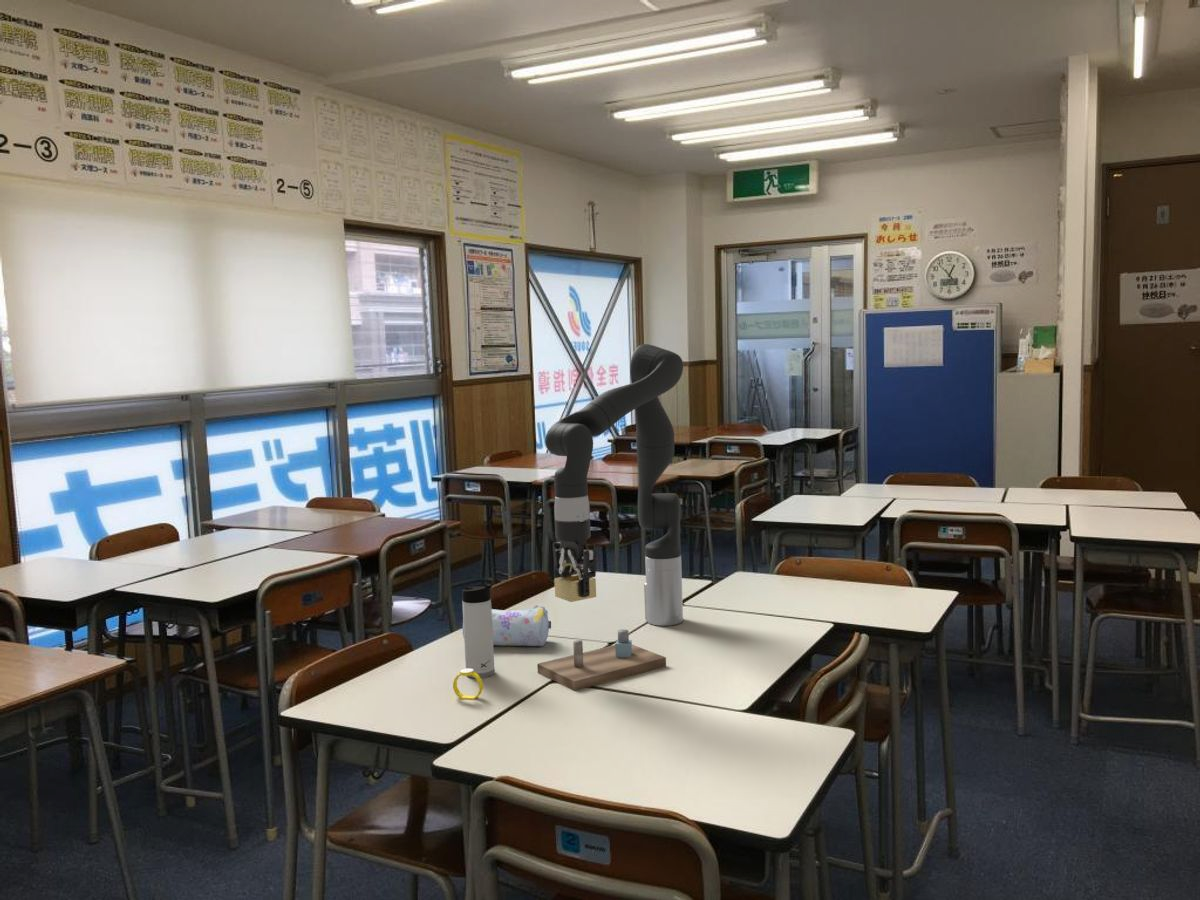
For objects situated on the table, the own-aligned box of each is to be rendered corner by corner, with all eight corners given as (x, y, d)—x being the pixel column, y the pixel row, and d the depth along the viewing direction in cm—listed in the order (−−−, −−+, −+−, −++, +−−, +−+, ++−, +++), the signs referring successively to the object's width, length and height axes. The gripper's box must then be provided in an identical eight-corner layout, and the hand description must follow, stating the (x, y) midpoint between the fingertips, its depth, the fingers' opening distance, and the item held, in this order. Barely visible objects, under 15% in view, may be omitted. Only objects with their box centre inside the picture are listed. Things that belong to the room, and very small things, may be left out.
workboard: (537, 672, 210) (536, 639, 209) (626, 650, 223) (625, 619, 222) (574, 690, 197) (573, 655, 197) (666, 666, 211) (665, 632, 210)
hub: (615, 657, 212) (614, 632, 212) (618, 652, 215) (617, 628, 215) (629, 657, 211) (628, 633, 211) (632, 652, 215) (631, 628, 214)
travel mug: (491, 679, 207) (486, 588, 205) (462, 678, 208) (457, 588, 206) (499, 669, 213) (495, 581, 211) (471, 668, 214) (467, 581, 212)
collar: (555, 596, 206) (554, 578, 206) (580, 591, 210) (579, 573, 209) (571, 602, 201) (570, 583, 201) (596, 596, 204) (595, 578, 204)
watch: (453, 701, 195) (449, 673, 194) (458, 696, 197) (454, 668, 197) (481, 700, 193) (477, 672, 193) (485, 695, 196) (482, 667, 196)
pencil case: (552, 639, 235) (551, 602, 234) (545, 650, 226) (544, 611, 225) (470, 639, 237) (467, 602, 237) (460, 650, 229) (458, 611, 228)
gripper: (540, 515, 207) (543, 590, 209) (575, 523, 196) (579, 603, 197) (569, 510, 212) (572, 584, 213) (605, 518, 200) (608, 596, 201)
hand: (575, 593), depth 205 cm, fingers closed on collar, 6 cm apart
